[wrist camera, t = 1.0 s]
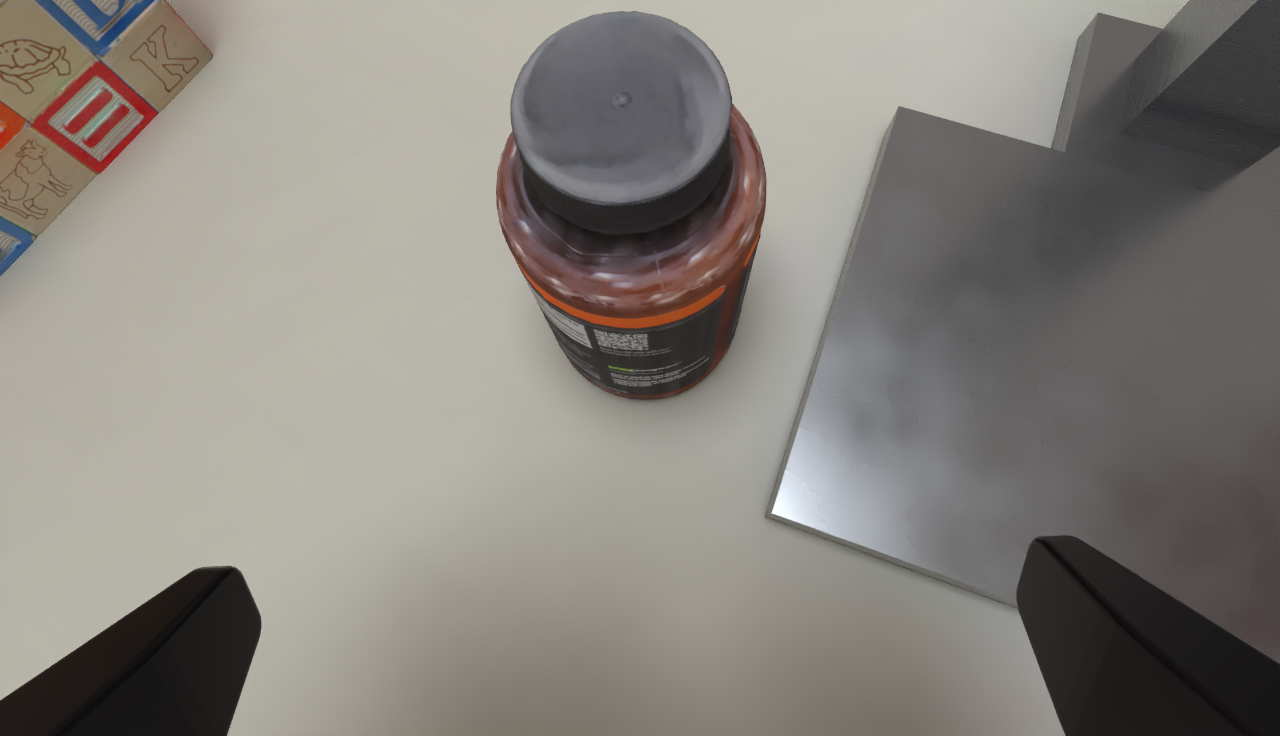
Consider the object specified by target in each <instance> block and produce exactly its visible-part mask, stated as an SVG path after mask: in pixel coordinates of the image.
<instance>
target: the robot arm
mask: <svg viewBox="0 0 1280 736" xmlns="http://www.w3.org/2000/svg"><path fill="white" fill-rule="evenodd" d="M1016 601H1017V606H1018V610H1019V613H1020V616H1021V619H1022V621H1023V624H1024V627H1025V629H1026V632H1027V635H1028V637H1029V640H1030V643H1031V646H1032V648H1033V651H1034V654H1035V656H1036V659H1037V662H1038V664H1039V667H1040V670H1041V673H1042V675H1043V678H1044V681H1045V683H1046V686H1047V689H1048V691H1049V694H1050V697H1051V699H1052V702H1053V705H1054V708H1055V710H1056V713H1057V716H1058V718H1059V721H1060V724H1061V726H1062V728H1063V731H1064V733H1065V736H1280V663H1279V662H1278V661H1276V660H1274V659H1273V658H1271V657H1269V656H1268V655H1266V654H1265V653H1263V652H1261V651H1260V650H1258V649H1257V648H1255V647H1253V646H1252V645H1250V644H1248V643H1247V642H1245V641H1244V640H1242V639H1240V638H1239V637H1237V636H1236V635H1234V634H1232V633H1231V632H1229V631H1228V630H1226V629H1224V628H1223V627H1221V626H1219V625H1218V624H1216V623H1215V622H1213V621H1211V620H1210V619H1208V618H1207V617H1205V616H1203V615H1202V614H1200V613H1198V612H1197V611H1195V610H1194V609H1192V608H1190V607H1189V606H1187V605H1186V604H1184V603H1182V602H1181V601H1179V600H1177V599H1176V598H1174V597H1173V596H1171V595H1169V594H1168V593H1166V592H1165V591H1163V590H1161V589H1160V588H1158V587H1156V586H1155V585H1153V584H1152V583H1150V582H1148V581H1147V580H1145V579H1144V578H1142V577H1140V576H1139V575H1137V574H1136V573H1134V572H1132V571H1131V570H1129V569H1127V568H1126V567H1124V566H1123V565H1121V564H1119V563H1118V562H1116V561H1115V560H1113V559H1111V558H1110V557H1108V556H1106V555H1105V554H1103V553H1102V552H1100V551H1098V550H1097V549H1095V548H1094V547H1092V546H1090V545H1089V544H1087V543H1085V542H1084V541H1082V540H1080V539H1079V538H1077V537H1074V536H1069V535H1058V536H1039V537H1036V538H1034V539H1033V540H1032V541H1031V542H1030V544H1029V547H1028V550H1027V553H1026V557H1025V560H1024V564H1023V567H1022V571H1021V574H1020V577H1019V581H1018V584H1017V589H1016ZM260 633H261V616H260V613H259V610H258V608H257V606H256V604H255V601H254V599H253V597H252V595H251V592H250V590H249V588H248V586H247V583H246V581H245V579H244V577H243V575H242V573H241V571H239V570H238V569H237V568H236V567H232V566H215V567H202V568H198V569H195V570H193V571H192V572H190V573H189V574H187V575H186V576H184V577H183V578H181V579H180V580H178V581H177V582H175V583H174V584H172V585H171V586H169V587H168V588H166V589H165V590H163V591H162V592H160V593H159V594H157V595H156V596H154V597H153V598H151V599H150V600H149V601H147V602H146V603H144V604H143V605H141V606H140V607H138V608H137V609H135V610H134V611H132V612H131V613H129V614H128V615H126V616H125V617H123V618H122V619H120V620H119V621H117V622H116V623H114V624H113V625H111V626H110V627H109V628H107V629H106V630H104V631H103V632H101V633H100V634H98V635H97V636H95V637H94V638H92V639H91V640H89V641H88V642H86V643H85V644H83V645H82V646H80V647H79V648H77V649H76V650H74V651H73V652H71V653H70V654H69V655H67V656H66V657H64V658H63V659H61V660H60V661H58V662H57V663H55V664H54V665H52V666H51V667H49V668H48V669H46V670H45V671H43V672H42V673H40V674H39V675H37V676H36V677H34V678H33V679H31V680H30V681H28V682H27V683H26V684H24V685H23V686H21V687H20V688H18V689H17V690H15V691H14V692H12V693H11V694H9V695H8V696H6V697H5V698H3V699H2V700H0V736H227V734H228V731H229V728H230V725H231V722H232V719H233V716H234V713H235V710H236V707H237V704H238V701H239V698H240V695H241V692H242V689H243V686H244V683H245V680H246V677H247V674H248V671H249V668H250V665H251V662H252V659H253V656H254V653H255V650H256V647H257V644H258V641H259V637H260Z"/></svg>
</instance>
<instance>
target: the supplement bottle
mask: <svg viewBox="0 0 1280 736" xmlns="http://www.w3.org/2000/svg"><path fill="white" fill-rule="evenodd" d="M511 124H512V129H513V130H512V132H511V134H510V135H509V137H508V139H507V142H506V145H505V149H504V151H503V153H502V154H501V160H500V163H499V167H498V172H497V186H496V195H497V210H498V215H499V222H500V225H501V228H502V232H503V235H504V237H505V239H506V242H507V244H508V246H509V248H510V250H511V252H512V254H513V256H514V258H515V260H516V262H517V264H518V266H519V268H520V270H521V272H522V274H523V275H524V277H525V279H526V281H527V283H528V285H529V287H530V289H531V291H532V293H533V294H534V296H535V298H536V300H537V302H538V304H539V306H540V308H541V310H542V312H543V314H544V316H545V318H546V320H547V322H548V324H549V325H550V327H551V329H552V331H553V333H554V335H555V337H556V339H557V341H558V343H559V346H560V347H561V348H562V350H563V351H564V353H565V354H566V356H567V358H568V359H569V360H570V362H571V364H572V365H573V366H574V367H575V368H576V369H577V370H578V371H579V372H580V373H581V374H582V375H583V376H584V377H585V378H586V379H588V380H589V381H591V382H592V383H593V384H595V385H596V386H598V387H600V388H601V389H603V390H605V391H608V392H611V393H614V394H617V395H620V396H624V397H629V398H639V399H652V398H660V397H666V396H669V395H673V394H676V393H679V392H682V391H684V390H686V389H688V388H690V387H692V386H693V385H695V384H696V383H698V382H699V381H701V380H702V379H703V378H704V377H706V376H707V375H708V374H709V373H710V372H711V371H712V370H713V369H714V368H715V367H716V366H717V364H718V363H719V362H720V360H721V359H722V358H723V356H724V355H725V353H726V352H727V350H728V348H729V346H730V343H731V341H732V339H733V337H734V334H735V330H736V327H737V324H738V319H739V316H740V312H741V307H742V303H743V299H744V295H745V292H746V288H747V284H748V280H749V276H750V272H751V268H752V264H753V260H754V256H755V253H756V249H757V245H758V242H759V239H760V232H761V227H762V224H763V219H764V213H765V206H766V172H765V167H764V162H763V158H762V154H761V150H760V146H759V145H758V142H757V140H756V138H755V136H754V134H753V131H752V129H751V128H750V127H749V124H748V123H747V122H746V120H745V119H744V118H743V116H742V115H741V113H740V112H739V111H738V109H737V108H736V107H735V106H734V105H733V104H732V96H731V92H730V87H729V83H728V80H727V77H726V75H725V72H724V70H723V67H722V66H721V64H720V62H719V60H718V59H717V57H716V56H715V55H714V53H713V51H712V50H711V49H710V48H709V47H708V46H707V45H706V43H705V42H703V41H702V40H701V39H700V38H699V37H697V36H696V35H695V34H694V33H692V32H691V31H690V30H688V29H687V28H686V27H683V26H681V25H679V24H677V23H676V22H674V21H672V20H670V19H667V18H664V17H661V16H657V15H652V14H647V13H642V12H636V11H632V12H624V11H620V12H609V13H603V14H597V15H592V16H589V17H586V18H583V19H581V20H578V21H576V22H574V23H571V24H569V25H568V26H566V27H564V28H562V29H560V30H559V31H557V32H556V33H554V34H553V35H551V36H550V37H549V38H547V39H546V40H545V41H544V42H543V43H542V44H541V45H540V46H539V47H538V48H537V49H536V50H535V51H534V53H533V54H532V55H531V56H530V58H529V60H528V61H527V62H526V63H525V64H524V66H523V67H522V70H521V72H520V73H519V76H518V78H517V81H516V83H515V86H514V90H513V94H512V98H511Z"/></svg>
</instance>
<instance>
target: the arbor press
mask: <svg viewBox="0 0 1280 736" xmlns="http://www.w3.org/2000/svg"><path fill="white" fill-rule="evenodd" d="M765 517H767V518H770V519H773V520H775V521H778V522H781V523H784V524H786V525H789V526H792V527H795V528H797V529H800V530H803V531H806V532H808V533H811V534H814V535H817V536H819V537H822V538H825V539H828V540H831V541H833V542H836V543H839V544H842V545H844V546H847V547H850V548H853V549H855V550H858V551H861V552H864V553H866V554H869V555H872V556H875V557H878V558H880V559H883V560H886V561H889V562H891V563H894V564H897V565H900V566H902V567H905V568H908V569H911V570H913V571H916V572H919V573H922V574H924V575H927V576H930V577H933V578H936V579H938V580H941V581H944V582H947V583H949V584H952V585H955V586H958V587H960V588H963V589H966V590H969V591H971V592H974V593H977V594H980V595H983V596H985V597H988V598H991V599H994V600H996V601H999V602H1002V603H1005V604H1007V605H1010V606H1013V607H1016V608H1018V606H1017V601H1016V589H1017V584H1018V581H1019V577H1020V574H1021V571H1022V567H1023V564H1024V560H1025V557H1026V553H1027V550H1028V547H1029V544H1030V542H1031V541H1032V540H1033V539H1034V538H1036V537H1039V536H1058V535H1069V536H1074V537H1077V538H1079V539H1080V540H1082V541H1084V542H1085V543H1087V544H1089V545H1090V546H1092V547H1094V548H1095V549H1097V550H1098V551H1100V552H1102V553H1103V554H1105V555H1106V556H1108V557H1110V558H1111V559H1113V560H1115V561H1116V562H1118V563H1119V564H1121V565H1123V566H1124V567H1126V568H1127V569H1129V570H1131V571H1132V572H1134V573H1136V574H1137V575H1139V576H1140V577H1142V578H1144V579H1145V580H1147V581H1148V582H1150V583H1152V584H1153V585H1155V586H1156V587H1158V588H1160V589H1161V590H1163V591H1165V592H1166V593H1168V594H1169V595H1171V596H1173V597H1174V598H1176V599H1177V600H1179V601H1181V602H1182V603H1184V604H1186V605H1187V606H1189V607H1190V608H1192V609H1194V610H1195V611H1197V612H1198V613H1200V614H1202V615H1203V616H1205V617H1207V618H1208V619H1210V620H1211V621H1213V622H1215V623H1216V624H1218V625H1219V626H1221V627H1223V628H1224V629H1226V630H1228V631H1229V632H1231V633H1232V634H1234V635H1236V636H1237V637H1239V638H1240V639H1242V640H1244V641H1245V642H1247V643H1248V644H1250V645H1252V646H1253V647H1255V648H1257V649H1258V650H1260V651H1261V652H1263V653H1265V654H1266V655H1268V656H1269V657H1271V658H1273V659H1274V660H1276V661H1278V662H1279V663H1280V0H1190V1H1189V2H1188V3H1187V4H1186V5H1185V6H1184V7H1183V8H1182V9H1181V10H1180V11H1179V12H1178V14H1177V15H1176V16H1175V17H1174V18H1173V19H1172V20H1171V21H1170V22H1169V23H1168V24H1167V25H1166V27H1165V28H1164V29H1161V28H1157V27H1153V26H1149V25H1145V24H1141V23H1137V22H1133V21H1129V20H1125V19H1121V18H1117V17H1113V16H1109V15H1105V14H1102V13H1097V15H1096V16H1095V17H1094V19H1093V20H1092V21H1091V22H1090V24H1089V25H1088V26H1087V28H1086V29H1085V30H1084V31H1083V33H1082V34H1081V35H1080V37H1079V38H1078V43H1077V47H1076V51H1075V55H1074V59H1073V63H1072V67H1071V71H1070V75H1069V79H1068V83H1067V88H1066V92H1065V96H1064V100H1063V104H1062V108H1061V112H1060V116H1059V120H1058V124H1057V128H1056V133H1055V137H1054V141H1053V145H1052V149H1050V148H1047V147H1043V146H1040V145H1036V144H1032V143H1029V142H1025V141H1022V140H1018V139H1015V138H1011V137H1007V136H1004V135H1000V134H997V133H993V132H989V131H986V130H982V129H979V128H975V127H972V126H968V125H964V124H961V123H957V122H954V121H950V120H947V119H943V118H939V117H936V116H932V115H929V114H925V113H921V112H918V111H914V110H911V109H907V108H904V107H900V106H899V107H898V109H897V111H896V113H895V115H894V117H893V119H892V121H891V123H890V125H889V127H888V129H887V131H886V133H885V136H884V139H883V142H882V145H881V149H880V152H879V155H878V158H877V161H876V164H875V168H874V171H873V174H872V177H871V180H870V184H869V187H868V190H867V193H866V196H865V200H864V203H863V206H862V209H861V212H860V215H859V219H858V222H857V225H856V228H855V231H854V235H853V238H852V241H851V244H850V247H849V250H848V254H847V257H846V260H845V263H844V266H843V270H842V273H841V276H840V279H839V282H838V286H837V289H836V292H835V295H834V298H833V301H832V305H831V308H830V311H829V314H828V317H827V321H826V324H825V327H824V330H823V333H822V336H821V340H820V343H819V346H818V349H817V352H816V356H815V359H814V362H813V365H812V368H811V372H810V375H809V378H808V381H807V384H806V387H805V391H804V394H803V397H802V400H801V403H800V407H799V410H798V413H797V416H796V419H795V422H794V426H793V429H792V432H791V435H790V438H789V442H788V445H787V448H786V451H785V454H784V458H783V461H782V464H781V467H780V470H779V473H778V477H777V480H776V483H775V486H774V489H773V493H772V496H771V499H770V502H769V505H768V508H767V512H766V515H765Z"/></svg>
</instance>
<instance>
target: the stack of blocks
mask: <svg viewBox="0 0 1280 736" xmlns="http://www.w3.org/2000/svg"><path fill="white" fill-rule="evenodd" d="M212 57H213V55H212V53H211V52H210V51H209V49H208V48H207V47H206V46H205V45H204V44H203V43H202V42H201V40H200V39H199V38H198V37H197V36H196V35H195V34H194V33H193V32H192V30H191V29H190V28H189V27H188V26H187V25H186V24H185V22H184V21H183V20H182V18H181V17H180V16H179V15H178V14H177V13H176V12H175V11H174V10H173V8H172V7H171V6H170V5H169V4H168V3H167V2H166V1H165V0H0V276H1V275H2V274H3V273H4V272H5V271H6V270H7V269H8V267H9V266H10V265H11V264H12V263H13V262H14V261H15V260H16V259H17V258H18V257H19V256H20V255H21V254H22V253H23V252H24V251H25V250H26V249H27V248H28V247H29V246H30V245H31V244H32V243H33V241H34V239H35V238H36V236H37V235H39V234H40V233H41V232H42V231H43V230H44V229H45V228H46V227H47V226H48V225H49V224H50V223H51V222H52V221H53V220H54V219H55V218H56V217H57V216H58V215H59V214H60V213H61V211H62V210H63V209H64V208H65V207H67V205H68V204H69V203H70V202H71V201H72V200H73V199H74V198H75V197H76V196H77V195H78V194H79V193H80V192H81V191H82V190H83V189H84V188H85V187H86V186H87V184H88V183H89V182H90V181H91V180H92V179H93V178H94V177H95V176H96V175H97V174H98V173H101V172H102V171H103V170H104V169H105V168H106V167H107V166H108V165H109V164H110V163H111V162H112V161H113V160H114V159H115V158H116V157H117V156H118V155H119V154H120V153H121V152H122V151H123V150H124V148H125V147H126V146H127V145H128V144H129V143H130V142H131V141H132V140H133V139H134V138H135V137H136V136H137V135H138V134H139V133H140V132H141V131H142V130H143V129H144V128H145V127H146V126H147V125H148V124H149V123H150V121H151V120H152V119H153V118H154V117H155V116H156V115H157V114H158V113H159V112H160V111H161V110H162V109H164V108H165V107H166V106H167V105H168V104H169V103H170V102H171V101H172V100H173V98H174V97H175V96H176V95H177V94H178V93H179V92H180V91H181V90H182V89H183V88H184V87H185V86H186V85H187V84H188V83H189V82H190V81H191V80H192V79H193V78H194V77H195V76H196V75H197V74H198V73H199V72H200V71H201V69H202V68H203V67H204V66H205V65H206V64H207V63H208V62H209V61H210V60H211V59H212Z"/></svg>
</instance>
